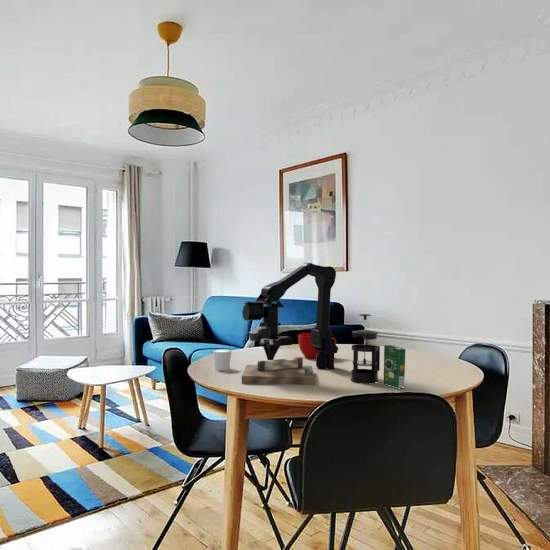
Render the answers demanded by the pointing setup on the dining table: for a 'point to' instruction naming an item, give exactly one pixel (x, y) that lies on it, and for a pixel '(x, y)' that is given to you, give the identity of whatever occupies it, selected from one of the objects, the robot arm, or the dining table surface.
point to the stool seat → (278, 376)
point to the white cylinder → (222, 359)
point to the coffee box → (394, 366)
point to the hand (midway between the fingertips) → (270, 362)
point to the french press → (364, 374)
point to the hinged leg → (280, 364)
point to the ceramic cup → (307, 345)
